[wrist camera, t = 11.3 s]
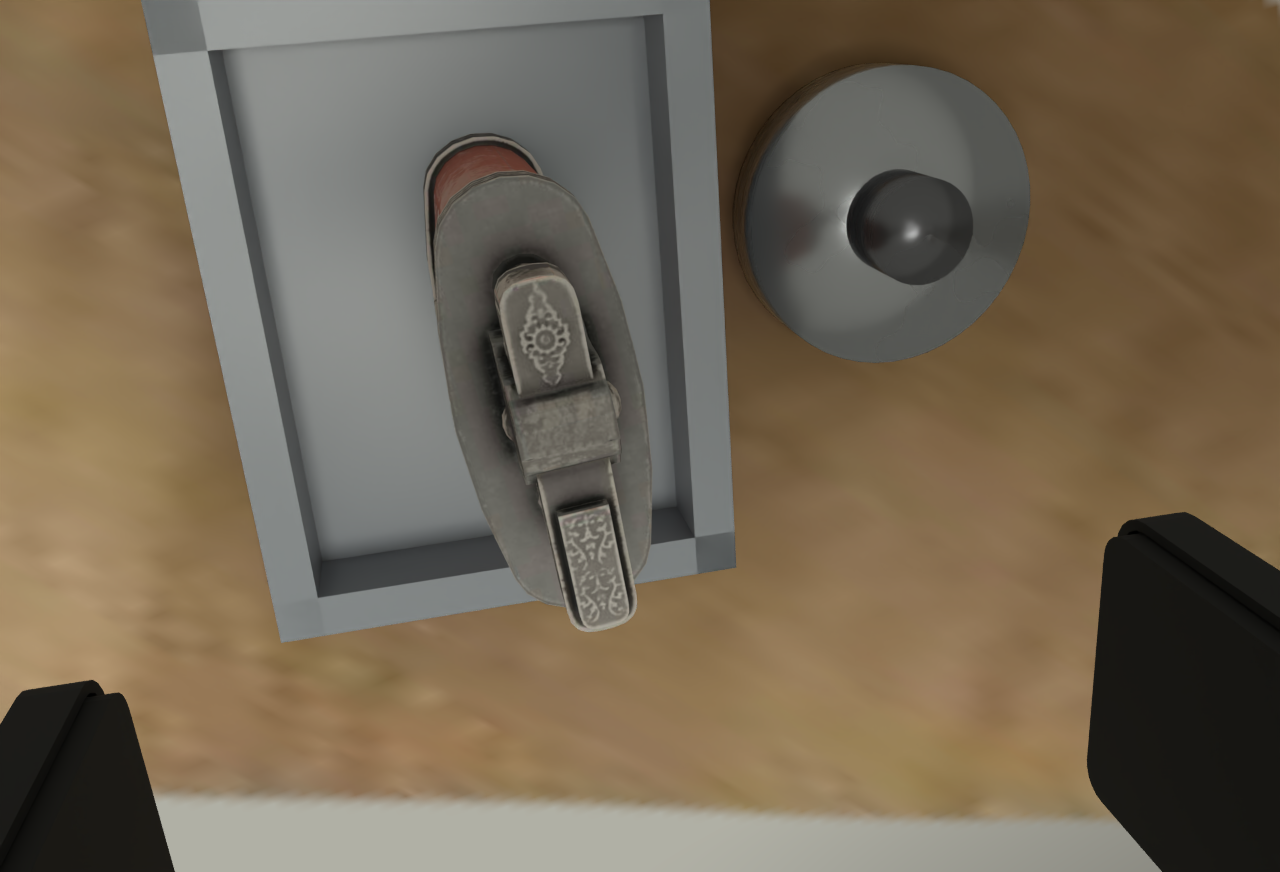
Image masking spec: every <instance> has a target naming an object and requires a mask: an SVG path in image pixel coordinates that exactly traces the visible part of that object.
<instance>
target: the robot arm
mask: <svg viewBox="0 0 1280 872" xmlns="http://www.w3.org/2000/svg"><path fill="white" fill-rule="evenodd" d="M1087 769H1088V774H1089V778H1090V781H1091V784H1092V787H1093V789H1094V791H1095V793H1096V795H1097V796H1098V798H1099V799H1100V800H1101V802H1102V803H1103V804H1104V805H1105V806H1106V807H1107V809H1108V810H1109V811H1110V812H1111V813H1112V814H1113V816H1114V817H1115V818H1116V819H1117V820H1118V821H1119V822H1120V824H1121V825H1122V826H1123V827H1124V828H1125V829H1126V831H1127V832H1128V833H1129V834H1130V835H1131V836H1132V837H1133V839H1134V840H1135V841H1136V842H1137V843H1138V844H1139V846H1140V847H1141V848H1142V849H1143V850H1144V851H1145V852H1146V854H1147V855H1148V856H1149V857H1150V858H1151V859H1152V861H1153V862H1154V863H1155V864H1156V865H1157V866H1158V867H1159V868H1160V870H1161V871H1162V872H1280V571H1279V570H1278V569H1276V568H1275V567H1273V566H1271V565H1270V564H1268V563H1267V562H1265V561H1264V560H1262V559H1261V558H1259V557H1257V556H1256V555H1254V554H1253V553H1251V552H1250V551H1248V550H1247V549H1245V548H1243V547H1242V546H1240V545H1239V544H1237V543H1236V542H1234V541H1233V540H1231V539H1229V538H1228V537H1226V536H1225V535H1223V534H1222V533H1220V532H1219V531H1217V530H1215V529H1214V528H1212V527H1211V526H1209V525H1208V524H1206V523H1205V522H1203V521H1201V520H1200V519H1198V518H1197V517H1195V516H1193V515H1191V514H1189V513H1186V512H1182V513H1174V514H1167V515H1161V516H1154V517H1148V518H1141V519H1135V520H1129V521H1127V522H1126V523H1125V524H1123V525H1122V527H1121V529H1120V531H1119V533H1118V537H1113V538H1112V539H1110V540H1109V541H1108V543H1107V545H1106V548H1105V553H1104V562H1103V574H1102V586H1101V598H1100V610H1099V622H1098V634H1097V646H1096V658H1095V670H1094V682H1093V694H1092V706H1091V718H1090V730H1089V742H1088V754H1087ZM0 872H175V871H174V867H173V864H172V860H171V856H170V853H169V849H168V846H167V842H166V839H165V835H164V832H163V828H162V824H161V821H160V817H159V814H158V810H157V806H156V803H155V799H154V796H153V792H152V789H151V785H150V782H149V778H148V774H147V771H146V767H145V764H144V760H143V757H142V753H141V749H140V746H139V742H138V739H137V735H136V732H135V728H134V724H133V721H132V717H131V714H130V710H129V707H128V704H127V702H126V700H125V698H124V696H123V695H122V694H120V693H119V692H118V693H112V694H104V691H103V690H102V688H101V687H100V685H99V684H98V683H97V682H95V681H94V680H89V681H82V682H76V683H69V684H63V685H56V686H50V687H43V688H37V689H30V690H26V691H22V692H21V693H20V694H19V696H18V697H17V698H16V699H15V701H14V703H13V704H12V706H11V708H10V709H9V711H8V713H7V714H6V716H5V718H4V719H3V721H2V723H1V724H0Z"/></svg>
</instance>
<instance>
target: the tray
mask: <svg viewBox="0 0 1280 872" xmlns="http://www.w3.org/2000/svg"><path fill="white" fill-rule="evenodd" d="M141 2H142V7H143V11H144V16H145V21H146V25H147V30H148V34H149V39H150V44H151V48H152V53H153V57H154V62H155V66H156V71H157V76H158V80H159V85H160V89H161V94H162V98H163V103H164V108H165V112H166V117H167V121H168V126H169V131H170V135H171V140H172V144H173V149H174V153H175V158H176V163H177V167H178V172H179V176H180V181H181V186H182V190H183V195H184V199H185V204H186V208H187V213H188V218H189V222H190V227H191V231H192V236H193V240H194V245H195V250H196V254H197V259H198V263H199V268H200V273H201V277H202V282H203V286H204V291H205V295H206V300H207V305H208V309H209V314H210V318H211V323H212V327H213V332H214V337H215V341H216V346H217V350H218V355H219V360H220V364H221V369H222V373H223V378H224V382H225V387H226V392H227V396H228V401H229V405H230V410H231V414H232V419H233V424H234V428H235V433H236V437H237V442H238V447H239V451H240V456H241V460H242V465H243V469H244V474H245V479H246V483H247V488H248V492H249V497H250V501H251V506H252V511H253V515H254V520H255V524H256V529H257V534H258V538H259V543H260V547H261V552H262V556H263V561H264V566H265V570H266V575H267V579H268V584H269V588H270V593H271V598H272V602H273V607H274V611H275V616H276V621H277V625H278V630H279V634H280V639H281V643H283V642H289V641H295V640H301V639H307V638H313V637H319V636H325V635H331V634H337V633H343V632H349V631H355V630H361V629H367V628H373V627H379V626H386V625H392V624H398V623H404V622H410V621H416V620H422V619H428V618H434V617H440V616H446V615H452V614H458V613H464V612H470V611H476V610H482V609H488V608H494V607H500V606H506V605H512V604H518V603H524V602H531V601H537V599H536V598H534V597H532V596H530V595H528V594H527V593H526V592H525V591H524V589H523V588H522V587H521V586H520V585H519V583H518V582H517V581H516V580H515V578H514V576H513V574H512V572H511V570H510V568H509V565H508V563H507V561H506V559H505V557H504V555H503V553H502V551H501V549H500V547H499V545H498V543H497V541H496V539H495V537H494V535H493V533H492V531H491V529H490V527H489V525H488V523H487V521H486V518H485V516H484V514H483V512H482V510H481V507H480V504H479V501H478V498H477V495H476V492H475V489H474V486H473V483H472V480H471V477H470V474H469V471H468V468H467V465H466V462H465V459H464V456H463V453H462V450H461V447H460V445H459V442H458V439H457V436H456V433H455V429H454V423H453V418H452V412H451V406H450V400H449V395H448V389H447V383H446V377H445V371H444V366H443V360H442V354H441V348H440V343H439V336H438V328H437V319H436V312H435V305H434V296H433V290H432V284H431V279H430V273H429V267H428V261H427V253H426V233H425V213H424V192H423V185H424V179H425V173H426V169H427V167H428V165H429V164H430V162H431V160H432V159H433V157H434V155H435V154H436V153H437V152H438V151H439V150H440V149H442V148H443V147H444V146H445V145H447V144H448V143H449V142H450V141H452V140H455V139H457V138H460V137H463V136H466V135H468V134H473V133H494V134H497V135H501V136H505V137H508V138H511V139H512V140H514V141H515V142H517V143H518V144H520V145H521V146H522V147H524V148H525V149H527V150H528V151H529V152H530V153H531V155H532V156H533V158H534V159H535V161H536V162H537V164H538V165H539V167H540V168H541V171H542V173H543V176H546V177H549V178H551V179H552V180H554V181H555V182H557V183H558V184H560V185H561V186H562V187H564V188H565V189H567V190H568V191H570V192H571V193H572V194H573V195H574V196H575V197H576V199H577V200H578V202H579V203H580V205H581V206H582V208H583V209H584V211H585V212H586V214H587V215H588V217H589V219H590V221H591V224H592V226H593V229H594V231H595V234H596V236H597V239H598V241H599V244H600V247H601V249H602V252H603V254H604V257H605V259H606V262H607V264H608V267H609V269H610V272H611V274H612V277H613V280H614V282H615V285H616V287H617V290H618V292H619V295H620V297H621V300H622V303H623V307H624V311H625V315H626V319H627V323H628V327H629V330H630V334H631V338H632V342H633V346H634V350H635V354H636V357H637V361H638V365H639V369H640V373H641V377H642V381H643V385H644V392H645V402H646V411H647V421H648V430H649V440H650V449H651V459H652V468H653V472H652V518H651V547H650V551H649V555H648V559H647V563H646V565H645V566H644V568H643V569H642V571H641V572H640V574H639V575H638V576H637V578H636V579H635V581H634V584H639V583H645V582H651V581H657V580H663V579H669V578H675V577H682V576H688V575H694V574H700V573H706V572H712V571H718V570H724V569H730V568H736V553H735V532H734V511H733V489H732V468H731V447H730V425H729V404H728V383H727V362H726V340H725V319H724V298H723V276H722V255H721V234H720V212H719V191H718V170H717V148H716V127H715V106H714V85H713V63H712V42H711V21H710V0H141Z"/></svg>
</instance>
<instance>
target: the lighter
mask: <svg viewBox="0 0 1280 872" xmlns="http://www.w3.org/2000/svg"><path fill="white" fill-rule="evenodd" d="M423 192H424V213H425V233H426V253H427V261H428V267H429V273H430V279H431V284H432V290H433V296H434V305H435V312H436V319H437V328H438V336H439V343H440V348H441V354H442V360H443V366H444V371H445V377H446V383H447V389H448V395H449V400H450V406H451V412H452V418H453V423H454V429H455V433H456V436H457V439H458V442H459V445H460V447H461V450H462V453H463V456H464V459H465V462H466V465H467V468H468V471H469V474H470V477H471V480H472V483H473V486H474V489H475V492H476V495H477V498H478V501H479V504H480V507H481V510H482V512H483V514H484V516H485V518H486V521H487V523H488V525H489V527H490V529H491V531H492V533H493V535H494V537H495V539H496V541H497V543H498V545H499V547H500V549H501V551H502V553H503V555H504V557H505V559H506V561H507V563H508V565H509V568H510V570H511V572H512V574H513V576H514V578H515V580H516V581H517V582H518V583H519V585H520V586H521V587H522V588H523V589H524V591H525V592H526V593H527V594H528V595H530V596H532V597H534V598H536V599H537V600H539V601H541V602H543V603H545V604H548V605H554V606H561V607H566V609H567V612H568V615H569V617H570V620H571V622H572V624H573V625H574V626H575V627H576V628H578V629H579V630H582V631H586V632H594V631H602V630H606V629H609V628H613V627H616V626H618V625H621V624H623V623H626V622H627V621H628V620H629V619H630V618H631V617H632V616H633V615H634V613H635V610H636V608H637V594H636V589H635V584H634V581H635V579H636V578H637V576H638V575H639V574H640V572H641V571H642V569H643V568H644V566H645V565H646V563H647V559H648V555H649V551H650V547H651V518H652V472H653V468H652V459H651V449H650V440H649V430H648V421H647V411H646V402H645V392H644V385H643V381H642V377H641V373H640V369H639V365H638V361H637V357H636V354H635V350H634V346H633V342H632V338H631V334H630V330H629V327H628V323H627V319H626V315H625V311H624V307H623V303H622V300H621V297H620V295H619V292H618V290H617V287H616V285H615V282H614V280H613V277H612V274H611V272H610V269H609V267H608V264H607V262H606V259H605V257H604V254H603V252H602V249H601V247H600V244H599V241H598V239H597V236H596V234H595V231H594V229H593V226H592V224H591V221H590V219H589V217H588V215H587V214H586V212H585V211H584V209H583V208H582V206H581V205H580V203H579V202H578V200H577V199H576V197H575V196H574V195H573V194H572V193H571V192H570V191H568V190H567V189H565V188H564V187H562V186H561V185H560V184H558V183H557V182H555V181H554V180H552V179H551V178H549V177H546V176H543V173H542V171H541V168H540V167H539V165H538V164H537V162H536V161H535V159H534V158H533V156H532V155H531V153H530V152H529V151H528V150H527V149H525V148H524V147H522V146H521V145H520V144H518V143H517V142H515V141H514V140H512V139H511V138H508V137H505V136H501V135H497V134H494V133H473V134H468V135H466V136H463V137H460V138H457V139H455V140H452V141H450V142H449V143H448V144H447V145H445V146H444V147H443V148H442V149H440V150H439V151H438V152H437V153H436V154H435V155H434V157H433V159H432V160H431V162H430V164H429V165H428V167H427V169H426V173H425V179H424V185H423Z"/></svg>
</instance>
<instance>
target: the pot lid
mask: <svg viewBox="0 0 1280 872" xmlns="http://www.w3.org/2000/svg"><path fill="white" fill-rule="evenodd" d="M1029 210H1030V183H1029V175H1028V168H1027V164H1026V160H1025V156H1024V152H1023V149H1022V147H1021V144H1020V142H1019V139H1018V137H1017V134H1016V132H1015V130H1014V129H1013V127H1012V125H1011V124H1010V122H1009V120H1008V119H1007V117H1006V116H1005V114H1004V113H1003V112H1002V111H1001V109H1000V108H999V107H998V106H997V104H996V103H995V102H994V101H993V100H992V99H990V98H989V97H988V96H987V95H986V94H985V93H984V92H983V91H982V90H980V89H979V88H977V87H976V86H974V85H973V84H971V83H970V82H968V81H967V80H965V79H962V78H960V77H958V76H956V75H954V74H952V73H949V72H946V71H942V70H939V69H935V68H930V67H923V66H915V65H904V64H893V63H866V64H860V65H854V66H849V67H846V68H842V69H839V70H836V71H833V72H830V73H828V74H826V75H824V76H822V77H820V78H818V79H815V80H814V81H812V82H811V83H809V84H807V85H806V86H804V87H803V88H801V89H800V90H798V91H797V92H796V93H795V94H793V95H792V96H791V97H790V98H789V99H787V100H786V101H785V102H784V103H783V104H782V105H781V106H780V107H779V108H778V109H777V110H776V111H775V112H774V114H773V115H772V116H771V117H770V118H769V119H768V121H767V122H766V124H765V125H764V126H763V128H762V129H761V130H760V132H759V133H758V135H757V137H756V139H755V140H754V142H753V144H752V146H751V148H750V149H749V151H748V154H747V156H746V159H745V161H744V164H743V166H742V169H741V172H740V176H739V179H738V183H737V187H736V193H735V200H734V207H733V229H734V238H735V245H736V250H737V254H738V258H739V262H740V264H741V267H742V270H743V272H744V275H745V277H746V279H747V281H748V283H749V285H750V286H751V288H752V290H753V292H754V293H755V295H756V296H757V297H758V299H759V300H760V301H761V303H762V304H763V305H764V307H765V308H766V309H767V310H768V311H770V312H771V313H772V314H773V315H774V316H775V317H776V318H777V319H778V320H779V321H781V322H782V323H783V324H784V325H786V326H787V327H788V328H790V329H791V330H792V331H793V332H795V333H796V334H797V335H799V336H800V337H801V338H803V339H804V340H805V341H807V342H808V343H809V344H811V345H813V346H815V347H816V348H818V349H820V350H822V351H824V352H826V353H829V354H831V355H834V356H837V357H840V358H843V359H848V360H853V361H858V362H872V363H879V362H893V361H898V360H903V359H908V358H912V357H915V356H918V355H920V354H923V353H926V352H929V351H931V350H933V349H935V348H937V347H939V346H941V345H943V344H945V343H946V342H948V341H950V340H951V339H953V338H954V337H956V336H957V335H959V334H960V333H962V332H963V331H964V330H965V329H966V328H968V327H969V326H970V325H971V324H973V323H974V322H975V321H976V320H977V319H978V318H979V317H980V316H981V315H982V314H983V313H984V312H985V311H986V310H987V308H988V307H989V306H990V305H991V303H992V302H993V301H994V300H995V298H996V297H997V296H998V295H999V293H1000V291H1001V290H1002V288H1003V287H1004V285H1005V283H1006V282H1007V280H1008V279H1009V277H1010V275H1011V273H1012V271H1013V268H1014V266H1015V264H1016V262H1017V260H1018V257H1019V254H1020V251H1021V249H1022V246H1023V243H1024V239H1025V234H1026V230H1027V226H1028V219H1029Z"/></svg>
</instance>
